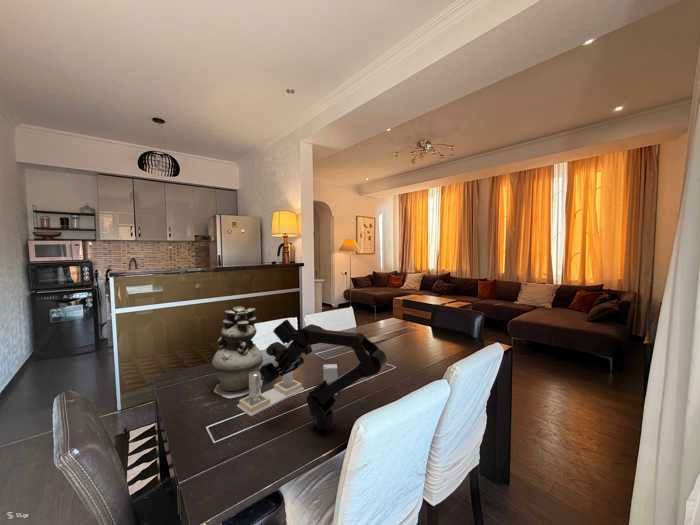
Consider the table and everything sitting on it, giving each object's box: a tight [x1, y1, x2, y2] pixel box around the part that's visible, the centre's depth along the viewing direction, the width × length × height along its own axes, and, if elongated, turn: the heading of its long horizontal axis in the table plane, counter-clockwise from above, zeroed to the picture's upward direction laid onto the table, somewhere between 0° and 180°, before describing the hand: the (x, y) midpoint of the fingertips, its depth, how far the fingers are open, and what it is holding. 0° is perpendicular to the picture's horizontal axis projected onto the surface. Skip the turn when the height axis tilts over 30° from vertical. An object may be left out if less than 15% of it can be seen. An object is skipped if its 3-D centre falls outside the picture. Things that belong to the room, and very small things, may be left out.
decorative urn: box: [211, 306, 264, 399], centre depth 125 cm, size 21×21×35 cm
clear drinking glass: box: [248, 370, 262, 406], centre depth 110 cm, size 4×4×12 cm
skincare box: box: [322, 363, 339, 396], centre depth 120 cm, size 6×4×12 cm
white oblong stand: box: [236, 370, 305, 417], centre depth 116 cm, size 10×25×13 cm, turn 140°
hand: (271, 379), depth 106 cm, fingers open, 9 cm apart
